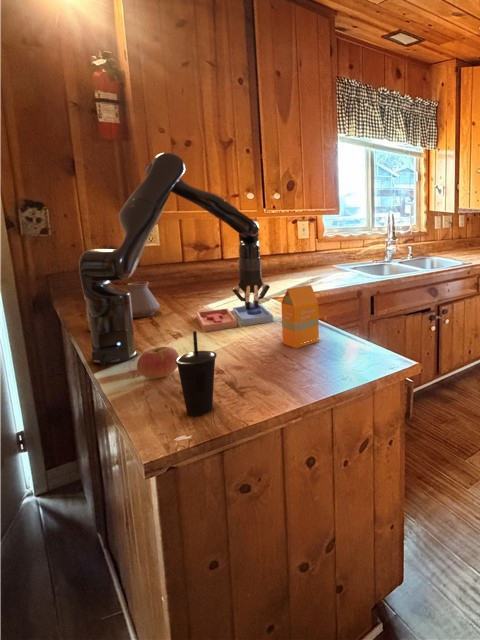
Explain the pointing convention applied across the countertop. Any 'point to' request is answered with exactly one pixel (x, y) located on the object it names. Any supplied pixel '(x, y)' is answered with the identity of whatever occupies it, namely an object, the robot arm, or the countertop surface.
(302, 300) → the orange juice
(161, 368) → the apple
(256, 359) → the countertop surface
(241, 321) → the blue tray
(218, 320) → the red spoon
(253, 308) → the blue spoon
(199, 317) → the red tray
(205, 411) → the drinking cup
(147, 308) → the coffee pot
